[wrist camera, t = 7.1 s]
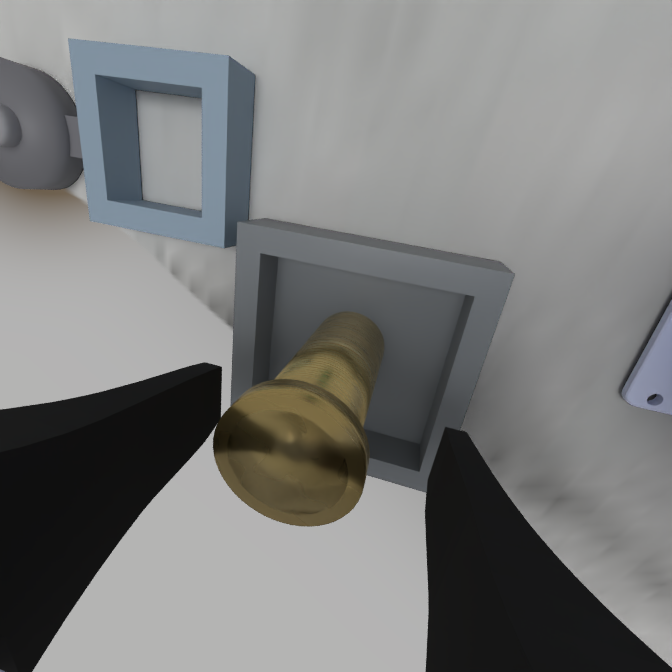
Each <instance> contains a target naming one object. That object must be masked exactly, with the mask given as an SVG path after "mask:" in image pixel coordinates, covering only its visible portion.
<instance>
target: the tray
mask: <svg viewBox="0 0 672 672" xmlns="http://www.w3.org/2000/svg"><path fill="white" fill-rule="evenodd" d="M514 275H515V274H514V273H513V272H512V271H511V270H510V269H509V268H507V267H506V266H505V265H504V264H503V263H501V262H499V261H494V260H488V259H483V258H477V257H472V256H466V255H461V254H456V253H450V252H445V251H439V250H434V249H429V248H423V247H418V246H412V245H407V244H401V243H396V242H391V241H385V240H380V239H374V238H369V237H364V236H358V235H353V234H347V233H342V232H336V231H331V230H326V229H320V228H315V227H309V226H304V225H299V224H293V223H288V222H282V221H277V220H271V219H266V218H264V219H255V220H247V221H238V222H237V246H236V273H235V300H234V327H233V354H232V381H231V406H232V405H233V403H234V402H235V401H236V400H237V399H238V398H239V397H240V396H241V395H242V394H243V393H244V392H246V391H247V390H248V389H249V388H251V387H253V386H254V385H257V384H259V383H262V382H265V381H269V380H274V379H275V378H276V377H277V376H278V374H279V373H280V372H281V371H282V370H283V368H284V367H285V366H286V365H287V364H288V363H289V361H290V360H291V359H292V358H293V357H294V355H295V354H296V353H297V352H298V351H299V350H300V348H301V347H302V346H303V345H304V344H305V342H306V341H307V340H308V339H309V338H310V337H311V335H312V334H313V333H314V332H315V331H316V329H317V328H318V327H319V326H320V325H321V324H322V322H323V321H324V320H325V319H326V318H328V317H329V316H331V315H333V314H335V313H339V312H346V311H349V312H356V313H359V314H362V315H364V316H366V317H368V318H369V319H371V320H372V321H373V322H374V323H375V324H376V325H377V327H378V328H379V329H380V331H381V333H382V336H383V339H384V347H385V348H384V354H383V358H382V362H381V365H380V369H379V372H378V376H377V380H376V383H375V387H374V390H373V394H372V398H371V401H370V405H369V408H368V412H367V416H366V419H365V423H364V426H363V429H364V431H365V433H366V436H367V439H368V444H369V451H370V458H369V466H368V470H367V475H368V476H372V477H375V478H378V479H382V480H385V481H389V482H392V483H395V484H399V485H402V486H405V487H409V488H412V489H416V490H419V491H423V492H426V493H427V481H428V477H429V474H430V471H431V468H432V465H433V462H434V459H435V456H436V453H437V450H438V447H439V444H440V441H441V438H442V435H443V432H444V429H445V427H449V428H452V429H456V430H460V428H461V425H462V422H463V420H464V417H465V414H466V411H467V408H468V406H469V403H470V400H471V397H472V394H473V391H474V389H475V386H476V383H477V380H478V377H479V374H480V372H481V369H482V366H483V363H484V360H485V357H486V355H487V352H488V349H489V346H490V343H491V340H492V338H493V335H494V332H495V329H496V326H497V324H498V321H499V318H500V315H501V312H502V309H503V307H504V304H505V301H506V298H507V295H508V292H509V290H510V287H511V284H512V281H513V278H514Z"/></svg>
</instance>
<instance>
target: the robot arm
mask: <svg viewBox="0 0 672 672" xmlns="http://www.w3.org/2000/svg"><path fill="white" fill-rule="evenodd" d="M221 381H222V367H220V366H217V365H213V364H209V363H200V364H196V365H192V366H189V367H185V368H182V369H178V370H175V371H172V372H169V373H166V374H162V375H159V376H156V377H152V378H149V379H146V380H143V381H139V382H136V383H132V384H128V385H125V386H121V387H118V388H114V389H110V390H107V391H103V392H99V393H95V394H90V395H86V396H81V397H76V398H71V399H67V400H62V401H56V402H50V403H44V404H38V405H30V406H23V407H17V408H10V409H2V410H0V672H32V671H33V669H34V668H35V666H36V665H37V663H38V661H39V660H40V658H41V657H42V655H43V653H44V652H45V650H46V649H47V647H48V646H49V644H50V643H51V641H52V639H53V638H54V636H55V635H56V633H57V632H58V630H59V628H60V627H61V625H62V624H63V622H64V621H65V619H66V617H67V616H68V615H69V613H70V612H71V610H72V609H73V607H74V606H75V604H76V602H77V601H78V600H79V598H80V597H81V595H82V594H83V592H84V591H85V589H86V588H87V586H88V585H89V584H90V582H91V581H92V579H93V578H94V576H95V575H96V573H97V572H98V571H99V569H100V568H101V566H102V565H103V564H104V562H105V561H106V559H107V558H108V557H109V555H110V554H111V552H112V551H113V550H114V548H115V547H116V545H117V544H118V543H119V541H120V540H121V539H122V537H123V536H124V535H125V533H126V532H127V530H128V529H129V528H130V527H131V526H132V524H133V523H134V522H135V520H136V519H137V518H138V516H139V515H140V514H141V512H142V511H143V510H144V509H145V508H146V506H147V505H148V504H149V503H150V502H151V500H152V499H153V498H154V497H155V496H156V495H157V494H158V493H159V492H160V490H161V489H162V488H163V487H164V486H165V485H166V484H167V483H168V482H169V481H170V480H171V479H172V477H173V476H174V475H175V474H176V473H177V472H178V471H179V470H180V469H181V468H182V467H183V466H184V464H185V463H186V462H187V461H188V460H189V459H190V458H191V457H192V456H193V455H194V453H195V452H196V451H197V450H198V449H199V448H200V447H201V445H202V444H203V443H204V442H205V440H206V439H207V438H208V436H209V435H210V433H211V432H212V431H213V429H214V428H215V426H216V425H217V423H218V422H219V420H220V418H221V383H222V382H221ZM652 394H657V396H656V397H655V398H654V399H652V400H647V398H648V397H649V396H650V395H652ZM622 397H623V398H624V399H625V400H626V401H627V402H628V403H629V404H630V405H632V406H635V407H639V408H643V409H648V410H652V411H656V412H660V413H665V414H669V415H672V300H671V302H670V303H669V305H668V307H667V309H666V311H665V313H664V314H663V316H662V318H661V320H660V322H659V324H658V325H657V327H656V329H655V331H654V333H653V335H652V336H651V338H650V340H649V342H648V344H647V346H646V347H645V349H644V351H643V353H642V355H641V356H640V358H639V360H638V362H637V364H636V366H635V367H634V369H633V371H632V373H631V375H630V377H629V378H628V380H627V382H626V384H625V386H624V388H623V390H622ZM425 524H426V547H427V571H428V592H429V615H428V617H429V618H428V638H427V658H426V672H672V668H671V667H670V666H669V665H668V664H667V663H666V662H664V661H663V660H662V659H661V658H660V657H659V656H658V655H657V654H656V653H655V652H653V651H652V650H651V649H650V648H649V647H648V646H647V645H646V644H645V643H644V642H642V641H641V640H640V639H639V638H638V637H637V636H636V635H635V634H634V633H632V632H631V631H630V630H629V629H628V628H627V627H626V626H625V625H624V624H623V623H622V622H621V621H620V620H619V619H618V618H617V617H615V616H614V615H613V614H612V613H611V612H610V611H609V610H608V609H607V608H606V607H605V606H604V605H603V604H602V603H601V602H600V601H599V600H598V599H597V598H596V597H595V596H594V595H593V594H592V593H591V592H590V591H589V590H588V589H587V588H586V587H585V586H584V585H583V584H582V583H581V582H580V581H579V580H578V579H577V578H576V577H575V576H574V575H573V573H572V572H571V571H570V570H569V569H568V568H567V567H566V566H565V565H564V564H563V563H562V562H561V561H560V559H559V558H558V557H557V556H556V555H555V554H554V553H553V551H552V550H551V549H550V548H549V547H548V546H547V545H546V543H545V542H544V541H543V540H542V539H541V538H540V536H539V535H538V534H537V533H536V532H535V530H534V529H533V528H532V527H531V526H530V524H529V523H528V522H527V521H526V519H525V518H524V517H523V515H522V514H521V513H520V511H519V510H518V509H517V507H516V506H515V505H514V503H513V502H512V501H511V499H510V498H509V497H508V495H507V494H506V492H505V491H504V490H503V488H502V487H501V485H500V484H499V482H498V481H497V479H496V478H495V476H494V475H493V473H492V472H491V470H490V469H489V467H488V466H487V464H486V463H485V461H484V459H483V458H482V456H481V455H480V453H479V451H478V450H477V448H476V447H475V445H474V443H473V442H472V440H471V438H470V437H469V435H468V434H467V432H464V431H460V430H456V429H452V428H449V427H445V429H444V432H443V435H442V438H441V441H440V444H439V447H438V450H437V453H436V456H435V459H434V462H433V465H432V468H431V471H430V474H429V477H428V481H427V494H426V507H425Z"/></svg>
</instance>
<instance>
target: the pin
mask: <svg viewBox="0 0 672 672" xmlns="http://www.w3.org/2000/svg"><path fill="white" fill-rule="evenodd" d="M384 348H385V347H384V339H383V336H382V333H381V331H380V329H379V328H378V327H377V325H376V324H375V323H374V322H373V321H372V320H371V319H369V318H368V317H366V316H364V315H362V314H359V313H356V312H349V311H346V312H339V313H335V314H333V315H331V316H329V317H328V318H326V319H325V320H324V321H323V322H322V324H321V325H320V326H319V327H318V328H317V329H316V331H315V332H314V333H313V334H312V335H311V337H310V338H309V339H308V340H307V341H306V342H305V344H304V345H303V346H302V347H301V348H300V350H299V351H298V352H297V353H296V354H295V355H294V357H293V358H292V359H291V360H290V361H289V363H288V364H287V365H286V366H285V367H284V368H283V370H282V371H281V372H280V373H279V374H278V376H277V377H276V378H275V379H274V380H269V381H265V382H262V383H259V384H257V385H254V386H253V387H251V388H249V389H248V390H247V391H246V392H244V393H243V394H242V395H241V396H240V397H239V398H238V399H237V400H236V401H235V402H234V403H233V405H232V406H231V407H230V408H229V409H228V410H227V411H226V412H225V413H224V414H223V416H222V417H221V418H220V420H219V422H218V424H217V426H216V429H215V433H214V438H213V450H214V457H215V460H216V464H217V466H218V469H219V471H220V473H221V475H222V477H223V479H224V480H225V481H226V483H227V485H228V486H229V487H230V488H231V490H232V491H233V492H234V493H235V494H236V495H237V496H238V497H239V498H240V499H241V500H242V501H243V502H245V503H246V504H247V505H248V506H250V507H251V508H253V509H254V510H256V511H257V512H259V513H261V514H263V515H264V516H266V517H269V518H271V519H273V520H276V521H279V522H282V523H286V524H290V525H296V526H320V525H325V524H329V523H331V522H334V521H336V520H338V519H340V518H342V517H344V516H345V515H346V514H348V513H349V512H350V511H351V510H352V509H353V508H354V507H355V505H356V504H357V503H358V501H359V499H360V497H361V495H362V491H363V488H364V483H365V479H366V475H367V470H368V466H369V458H370V451H369V444H368V439H367V436H366V433H365V431H364V429H363V426H364V423H365V419H366V416H367V412H368V408H369V405H370V401H371V398H372V394H373V390H374V387H375V383H376V380H377V376H378V372H379V369H380V365H381V362H382V358H383V354H384Z"/></svg>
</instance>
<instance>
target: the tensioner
mask: <svg viewBox="0 0 672 672" xmlns="http://www.w3.org/2000/svg"><path fill="white" fill-rule="evenodd" d="M68 42H69V50H70V59H71V67H72V75H73V84H74V92H75V100H76V106H75V105H74V103H73V101H72V99H71V98H70V96H69V95H68V93H67V92H66V91H65V90H64V89H63V87H62V86H61V85H60V84H59V83H58V82H57V81H56V80H55V79H53V78H52V77H51V76H49V75H48V74H46V73H44V72H42V71H40V70H37V69H34V68H31V67H28V66H25V65H22V64H19V63H16V62H13V61H10V60H7V59H4V58H1V57H0V181H2V182H3V183H5V184H7V185H10V186H12V187H15V188H21V189H48V190H57V189H63V188H66V187H68V186H70V185H71V184H73V183H74V182H75V181H76V180H77V179H78V177H79V176H80V174H81V172H82V169H83V167H84V175H85V183H86V192H87V200H88V208H89V217H90V221H93V222H98V223H103V224H108V225H113V226H118V227H123V228H128V229H132V230H137V231H142V232H147V233H152V234H157V235H162V236H167V237H172V238H177V239H182V240H187V241H192V242H196V243H201V244H206V245H211V246H216V247H221V248H227V247H231V246H235V245H237V222H238V221H247V220H248V211H249V191H250V170H251V150H252V129H253V108H254V88H255V74H253V73H252V72H251V71H249V70H248V69H247V68H245V67H244V66H242V65H241V64H240V63H238V62H237V61H235V60H234V59H233V58H231V57H230V56H228V55H218V54H209V53H200V52H190V51H181V50H172V49H162V48H153V47H144V46H134V45H125V44H115V43H106V42H97V41H87V40H78V39H69V38H68ZM135 90H143V91H151V92H158V93H166V94H174V95H181V96H189V97H197V98H202V211H198V210H192V209H187V208H182V207H176V206H171V205H166V204H160V203H155V202H150V201H144V200H142V188H141V172H140V157H139V141H138V125H137V109H136V93H135Z"/></svg>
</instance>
